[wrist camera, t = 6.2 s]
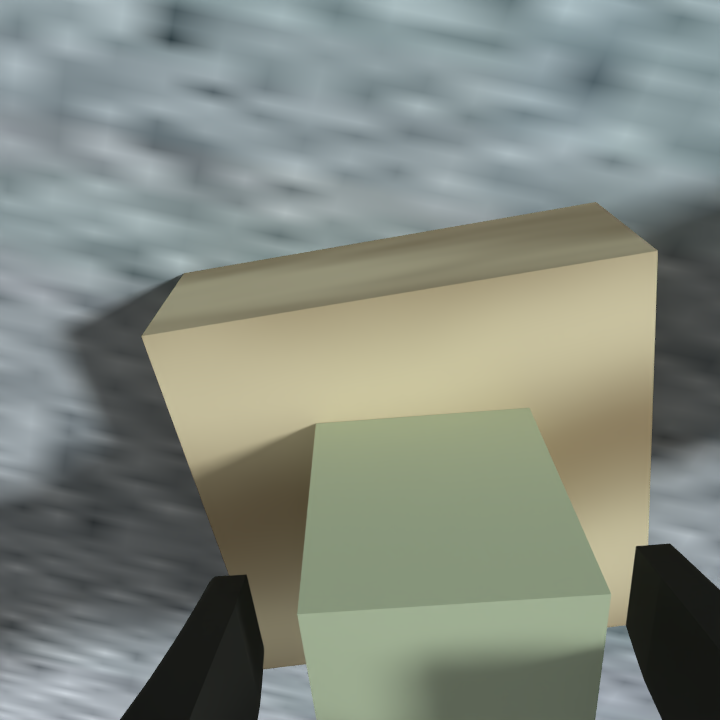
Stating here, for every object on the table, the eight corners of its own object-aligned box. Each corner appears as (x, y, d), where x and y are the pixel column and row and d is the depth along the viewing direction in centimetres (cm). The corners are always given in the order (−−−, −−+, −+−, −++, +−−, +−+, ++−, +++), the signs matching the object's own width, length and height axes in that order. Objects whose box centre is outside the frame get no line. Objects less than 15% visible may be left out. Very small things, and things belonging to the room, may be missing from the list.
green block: (522, 565, 16) (587, 778, 11) (337, 577, 16) (330, 793, 12) (529, 407, 14) (611, 594, 9) (315, 423, 14) (297, 614, 10)
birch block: (595, 516, 20) (645, 622, 17) (279, 559, 21) (263, 669, 18) (590, 197, 16) (657, 250, 12) (187, 267, 17) (141, 336, 13)
